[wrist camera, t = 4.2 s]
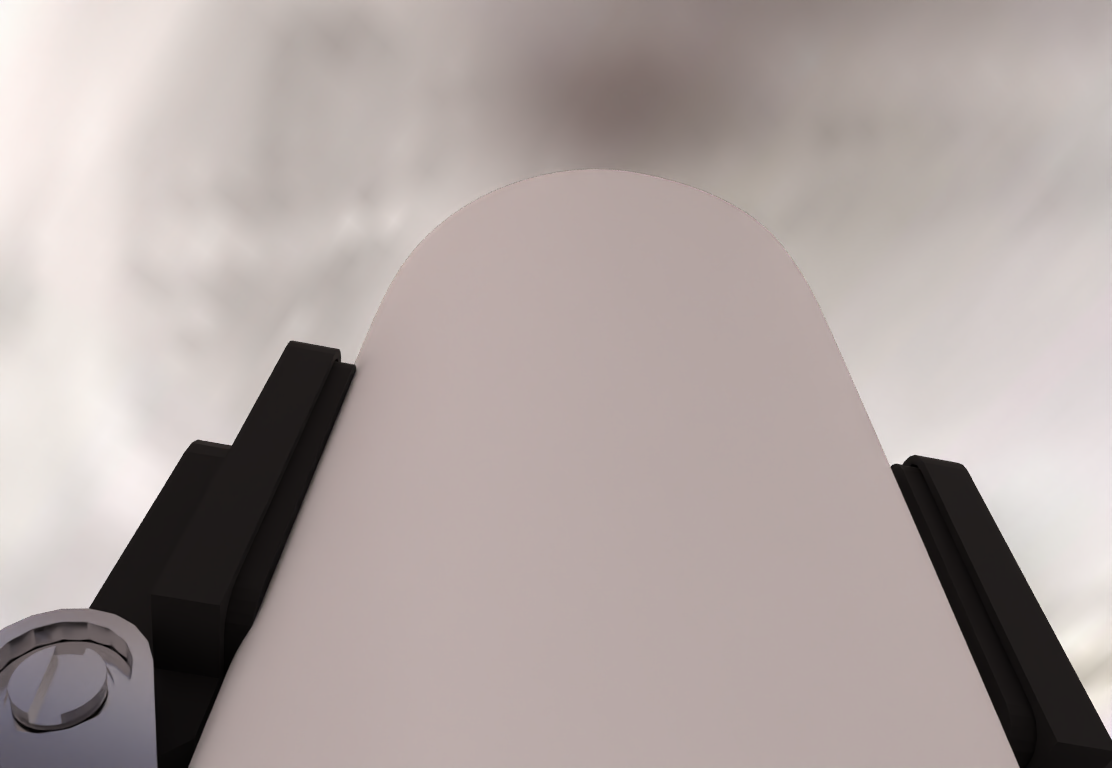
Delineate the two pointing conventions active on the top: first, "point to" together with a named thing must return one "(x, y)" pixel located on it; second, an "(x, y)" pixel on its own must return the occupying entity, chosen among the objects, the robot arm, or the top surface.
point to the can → (602, 520)
